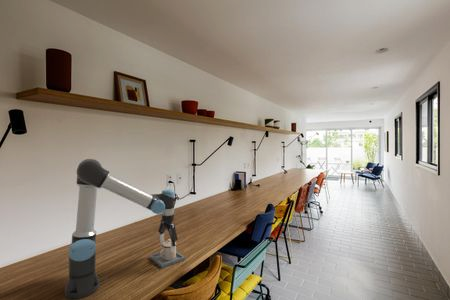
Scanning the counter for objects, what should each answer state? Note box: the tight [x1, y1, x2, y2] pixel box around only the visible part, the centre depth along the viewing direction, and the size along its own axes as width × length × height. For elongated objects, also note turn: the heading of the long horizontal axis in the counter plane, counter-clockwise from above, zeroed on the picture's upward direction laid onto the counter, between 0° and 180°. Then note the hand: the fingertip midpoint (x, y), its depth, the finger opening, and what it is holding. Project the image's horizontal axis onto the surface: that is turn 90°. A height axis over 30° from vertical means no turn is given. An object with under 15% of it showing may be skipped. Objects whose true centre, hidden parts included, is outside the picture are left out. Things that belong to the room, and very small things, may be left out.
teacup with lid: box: [159, 238, 177, 260], centre depth 158 cm, size 12×9×12 cm
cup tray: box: [149, 250, 186, 269], centre depth 159 cm, size 16×16×2 cm
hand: (167, 247), depth 158 cm, fingers open, 13 cm apart
